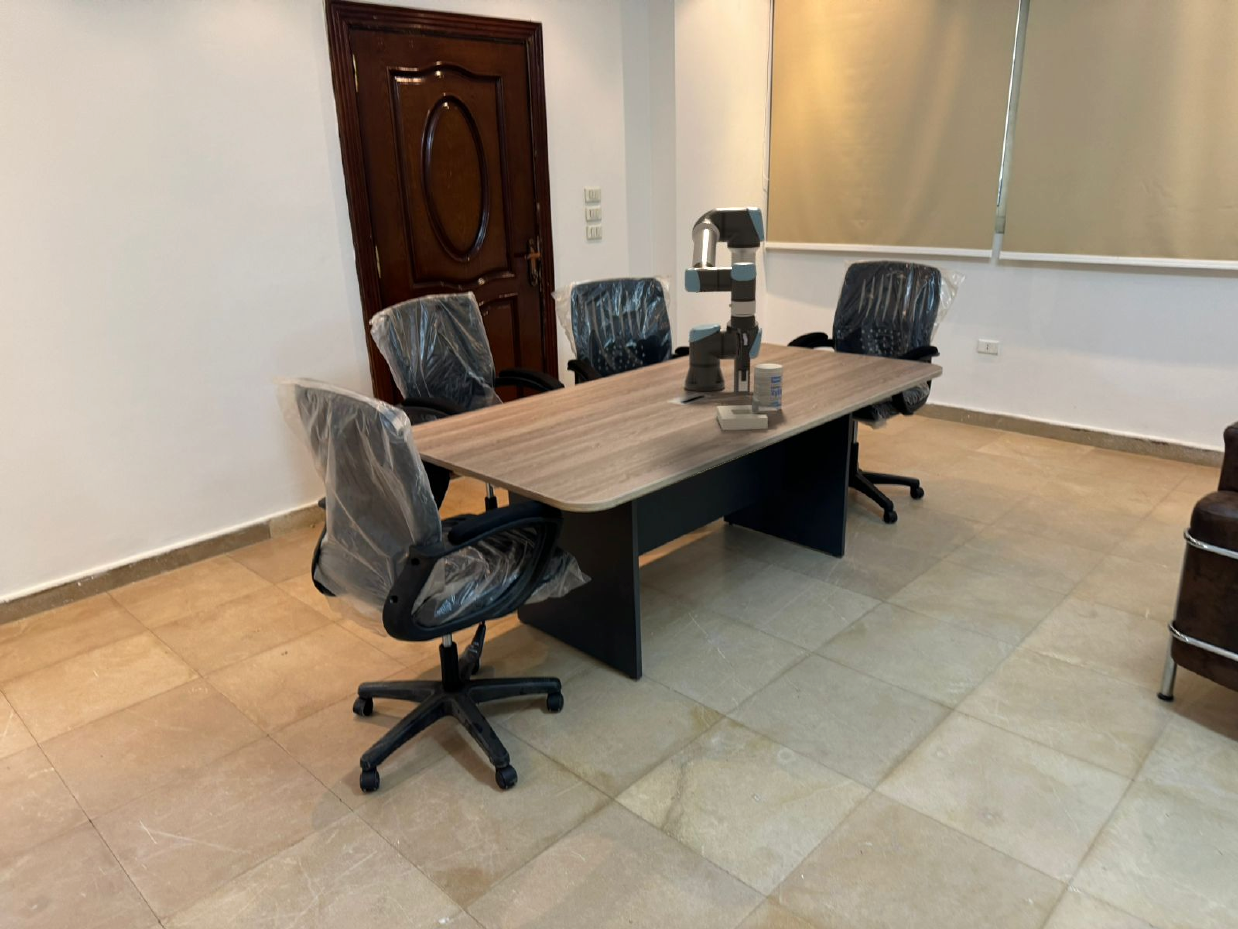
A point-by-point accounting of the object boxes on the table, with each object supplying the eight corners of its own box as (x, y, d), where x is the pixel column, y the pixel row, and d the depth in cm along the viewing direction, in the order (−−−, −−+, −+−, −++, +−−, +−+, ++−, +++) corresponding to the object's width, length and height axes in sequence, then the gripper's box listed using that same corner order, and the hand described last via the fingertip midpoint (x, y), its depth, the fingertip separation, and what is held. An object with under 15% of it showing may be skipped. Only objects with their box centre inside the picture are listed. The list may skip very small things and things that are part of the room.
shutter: (751, 407, 262) (751, 396, 261) (773, 407, 262) (773, 395, 261) (754, 413, 256) (755, 401, 255) (777, 412, 256) (777, 400, 255)
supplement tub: (776, 413, 269) (777, 369, 265) (748, 410, 274) (749, 367, 269) (785, 406, 277) (786, 364, 272) (759, 403, 282) (759, 362, 277)
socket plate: (716, 416, 268) (716, 406, 267) (759, 415, 268) (759, 404, 267) (722, 430, 253) (722, 419, 252) (767, 428, 253) (767, 417, 252)
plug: (733, 392, 259) (734, 355, 256) (747, 392, 259) (748, 354, 256) (735, 395, 255) (736, 358, 251) (749, 395, 255) (750, 357, 251)
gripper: (727, 311, 258) (726, 383, 265) (734, 318, 241) (733, 395, 248) (751, 310, 258) (749, 382, 265) (759, 318, 241) (758, 395, 248)
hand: (741, 388), depth 257 cm, fingers closed on plug, 4 cm apart
